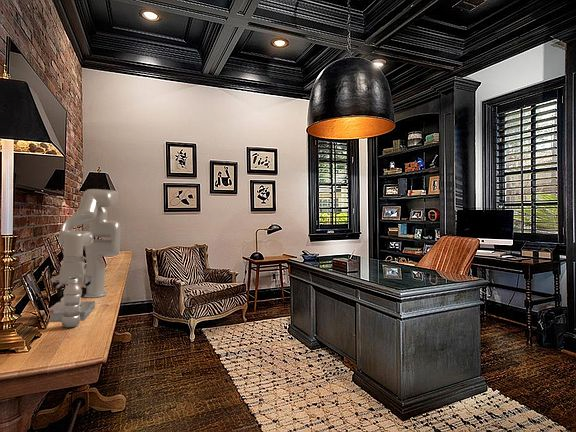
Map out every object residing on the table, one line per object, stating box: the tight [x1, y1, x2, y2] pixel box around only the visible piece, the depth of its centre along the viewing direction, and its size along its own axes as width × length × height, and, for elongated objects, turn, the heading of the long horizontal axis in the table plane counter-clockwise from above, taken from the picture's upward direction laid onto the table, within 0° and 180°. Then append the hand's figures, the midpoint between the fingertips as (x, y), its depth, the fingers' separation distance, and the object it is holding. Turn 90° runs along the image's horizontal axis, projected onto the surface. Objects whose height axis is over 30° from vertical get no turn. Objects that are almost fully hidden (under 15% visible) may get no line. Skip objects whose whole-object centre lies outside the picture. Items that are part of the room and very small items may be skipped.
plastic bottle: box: [60, 278, 82, 329], centre depth 147 cm, size 6×7×20 cm
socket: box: [48, 300, 96, 322], centre depth 164 cm, size 20×16×4 cm
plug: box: [60, 296, 82, 310], centre depth 165 cm, size 11×6×8 cm, turn 17°
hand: (71, 296), depth 165 cm, fingers open, 9 cm apart
